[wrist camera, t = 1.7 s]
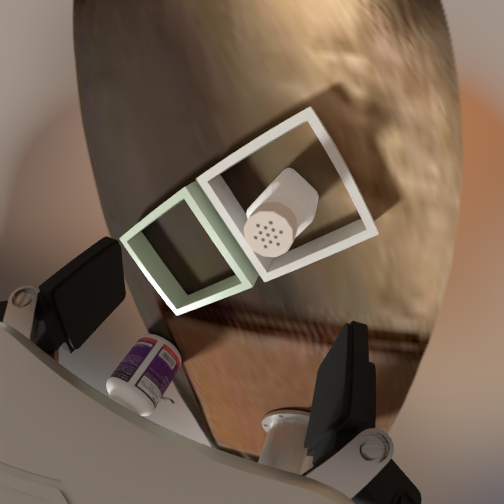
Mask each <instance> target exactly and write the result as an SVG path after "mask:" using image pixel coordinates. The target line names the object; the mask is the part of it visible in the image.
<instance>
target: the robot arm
mask: <svg viewBox="0 0 504 504" xmlns="http://www.w3.org/2000/svg"><path fill="white" fill-rule="evenodd" d="M39 289H40V292H39V293H37V290H36V289H35V288H34V287H31V286H23V287H20V288H18V289H17V290H15V291H14V292H13V293H12V294H11V296H10V298H9V301H2V302H0V504H421V494H420V492H419V490H418V489H417V488H416V486H415V485H414V484H413V483H412V482H411V481H410V480H409V478H408V477H407V476H406V475H405V474H404V473H403V471H402V470H401V469H400V468H399V467H398V466H397V464H396V463H395V462H394V461H393V460H392V459H391V457H392V455H393V452H394V446H393V442H392V439H391V438H390V437H389V435H388V434H387V433H386V432H384V431H383V430H380V429H378V428H375V419H376V369H375V364H374V363H372V362H369V351H368V327H367V325H366V324H362V323H359V322H356V321H352V322H351V323H350V324H348V323H346V324H345V325H344V327H343V329H342V330H341V332H340V334H339V336H338V337H337V339H336V341H335V342H334V344H333V346H332V347H331V349H330V351H329V352H328V354H327V355H326V357H325V359H324V360H323V362H322V363H321V365H320V367H319V369H318V373H317V379H316V385H315V391H314V396H313V402H312V407H311V413H309V412H306V411H300V410H277V411H273V412H270V413H268V414H267V415H265V416H264V418H263V421H262V426H263V428H264V430H265V431H266V432H267V436H266V440H265V443H264V446H263V449H262V452H261V455H260V458H259V461H258V463H256V462H253V461H250V460H247V459H244V458H241V457H237V456H235V455H232V454H229V453H226V452H223V451H220V450H217V449H215V448H212V447H209V446H206V445H204V444H201V443H199V442H196V441H194V440H191V439H189V438H186V437H184V436H182V435H180V434H177V433H175V432H173V431H171V430H169V429H167V428H165V427H162V426H160V425H158V424H156V423H154V422H152V421H150V420H148V419H146V418H144V417H142V416H141V415H139V414H137V413H135V412H133V411H131V410H130V409H128V408H126V407H124V406H122V405H121V404H119V403H117V402H116V401H114V400H112V399H111V398H109V397H107V396H106V395H104V394H102V393H101V392H99V391H98V390H96V389H95V388H93V387H92V386H90V385H89V384H87V383H86V382H84V381H83V380H81V379H80V378H78V377H77V376H75V375H74V374H72V373H71V372H70V371H68V370H67V369H66V368H64V367H63V366H62V365H60V364H59V363H58V360H59V359H58V358H59V347H60V346H61V345H62V347H63V348H64V349H65V350H67V351H69V353H72V352H73V351H74V350H75V349H78V348H80V347H81V345H82V344H83V343H84V342H85V341H86V340H87V339H88V338H89V337H90V335H91V334H92V333H93V332H94V331H95V330H96V329H97V328H98V327H99V326H100V325H101V324H102V322H103V321H104V320H105V319H106V318H107V317H108V316H109V315H110V314H111V313H112V312H113V311H114V309H116V307H118V305H119V304H120V303H121V302H122V301H123V300H124V298H125V295H126V291H125V284H124V274H123V264H122V252H121V246H120V245H119V242H118V241H117V240H115V239H112V238H110V237H104V238H102V239H101V240H99V241H98V242H97V243H95V244H94V245H92V246H91V247H90V248H88V249H87V250H86V251H84V252H83V253H81V254H80V255H79V256H77V257H76V258H75V259H73V260H72V261H71V262H69V263H68V264H67V265H65V266H64V267H63V268H61V269H60V270H59V271H58V272H56V273H55V274H54V275H53V276H51V277H50V278H49V279H48V280H46V281H45V282H44V283H43V284H41V285H40V286H39Z"/></svg>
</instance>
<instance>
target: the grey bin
mask: <svg viewBox="0 0 504 504" xmlns="http://www.w3.org/2000/svg"><path fill="white" fill-rule="evenodd" d="M307 121H308V122H309V124H310V126H311V127H312V129H313V130H314V132H315V134H316V135H317V137H318V139H319V140H320V142H321V144H322V145H323V147H324V149H325V151H326V152H327V154H328V156H329V157H330V159H331V161H332V163H333V165H334V166H335V168H336V170H337V172H338V174H339V175H340V177H341V179H342V181H343V183H344V185H345V187H346V189H347V190H348V192H349V194H350V196H351V198H352V200H353V202H354V204H355V206H356V208H357V210H358V212H359V214H360V216H361V219H359V220H357V221H354V222H352V223H350V224H348V225H346V226H344V227H341V228H339V229H337V230H335V231H333V232H330V233H328V234H326V235H324V236H322V237H319V238H317V239H315V240H313V241H310V242H308V243H306V244H304V245H302V246H299V247H297V248H295V249H293V250H290V251H288V252H286V253H284V254H282V255H280V256H278V257H275V258H274V257H264V256H262V255H260V254H258V253H256V252H255V251H253V250H252V249H251V248H250V246H249V245H248V243H247V242H246V240H245V235H244V226H245V224H246V222H247V220H248V218H247V216H246V213H245V212H244V210H243V209H242V207H241V206H240V204H239V202H238V201H237V199H236V198H235V196H234V195H233V193H232V192H231V190H230V189H229V187H228V185H227V184H226V182H225V181H224V179H223V178H222V176H221V175H220V174H222V173H223V172H225V171H226V170H228V169H229V168H231V167H232V166H234V165H235V164H237V163H238V162H240V161H242V160H243V159H245V158H246V157H248V156H249V155H251V154H253V153H254V152H256V151H258V150H259V149H261V148H262V147H264V146H266V145H267V144H269V143H271V142H272V141H274V140H276V139H277V138H279V137H281V136H283V135H284V134H286V133H288V132H290V131H291V130H293V129H295V128H297V127H298V126H300V125H302V124H304V123H305V122H307ZM196 180H197V181H198V183H199V184H200V186H201V187H202V189H203V190H204V192H205V193H206V195H207V196H208V198H209V199H210V201H211V202H212V204H213V205H214V207H215V209H216V210H217V212H218V213H219V215H220V216H221V218H222V219H223V221H224V222H225V224H226V225H227V227H228V228H229V230H230V231H231V233H232V234H233V236H234V237H235V239H236V240H237V242H238V243H239V245H240V246H241V248H242V249H243V251H244V252H245V254H246V255H247V257H248V258H249V260H250V261H251V263H252V264H253V266H254V267H255V269H256V270H257V272H258V273H259V275H260V276H261V278H262V279H263V281H264V282H267V281H269V280H272V279H274V278H277V277H279V276H281V275H284V274H286V273H289V272H291V271H294V270H296V269H299V268H301V267H303V266H306V265H308V264H311V263H313V262H315V261H318V260H320V259H322V258H325V257H327V256H330V255H332V254H334V253H337V252H339V251H341V250H344V249H346V248H348V247H350V246H353V245H355V244H357V243H360V242H362V241H364V240H366V239H369V238H371V237H373V236H376V235H378V234H379V233H378V230H377V227H376V224H375V221H374V219H373V216H372V214H371V212H370V210H369V208H368V206H367V204H366V202H365V200H364V197H363V195H362V193H361V191H360V189H359V187H358V185H357V183H356V181H355V180H354V178H353V176H352V174H351V172H350V170H349V168H348V166H347V164H346V163H345V161H344V159H343V157H342V155H341V154H340V152H339V150H338V148H337V146H336V145H335V143H334V141H333V140H332V138H331V136H330V134H329V133H328V131H327V129H326V128H325V126H324V124H323V123H322V121H321V120H320V118H319V116H318V115H317V113H316V112H315V110H314V109H313V108H312V107H308V108H307V109H305V110H303V111H301V112H299V113H298V114H296V115H294V116H292V117H291V118H289V119H287V120H285V121H284V122H282V123H280V124H279V125H277V126H275V127H274V128H272V129H270V130H269V131H267V132H265V133H264V134H262V135H261V136H259V137H257V138H256V139H254V140H253V141H251V142H249V143H248V144H246V145H245V146H243V147H242V148H240V149H239V150H237V151H236V152H234V153H232V154H231V155H229V156H228V157H226V158H225V159H224V160H222V161H221V162H219V163H218V164H216V165H215V166H213V167H212V168H210V169H209V170H208V171H206V172H205V173H203V174H202V175H200V176H199V177H198V178H196Z"/></svg>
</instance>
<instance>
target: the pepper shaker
mask: <svg viewBox="0 0 504 504" xmlns="http://www.w3.org/2000/svg"><path fill="white" fill-rule="evenodd" d="M318 198H319V195H318V193H317V191H316V190H315V189H314V188H313V187H312V186H311V185H310V184H309V183H308V182H307V181H306V180H305V179H304V178H303V177H301V176H300V175H299V174H298V173H297V172H296V171H295V170H294V169H292V168H287V169H284V170H283V171H282V172H281V173H280V175H279V176H278V177H277V178H276V179H275V180H274V181H273V182H272V183H271V184H270V185H269V186H268V187H267V188H266V189H265V190H264V192H263V193H262V194H261V195H260V196H259V197H258V198H257V199H256V200H255V201H254V202H253V203H252V204H251V206H250V207H249V208H248V209H247V212H246V216H247V218H248V220H247V222H246V224H245V226H244V235H245V240H246V242H247V243H248V245H249V246H250V248H251V249H252V250H253V251H255V252H256V253H258V254H260V255H262V256H264V257H278V256H280V255H282V254H284V253H286V252H287V251H288V250H289V248H290V247H291V245H292V243H293V242H294V239H295V238H296V237H297V236H298V235H299V234H300V233H301V232H302V231H303V230H304V229H305V228H306V227H307V226H308V225H309V224H310V223H311V222H312V221H313V219H314V216H315V212H316V208H317V203H318Z"/></svg>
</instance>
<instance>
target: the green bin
mask: <svg viewBox="0 0 504 504" xmlns="http://www.w3.org/2000/svg"><path fill="white" fill-rule="evenodd" d="M184 199H185V201H186V202H187V204H188V205H189V207H190V208H191V210H192V211H193V213H194V214H195V215H196V217H197V218H198V220H199V221H200V223H201V224H202V226H203V227H204V229H205V230H206V232H207V233H208V235H209V236H210V238H211V239H212V241H213V242H214V244H215V245H216V246H217V248H218V249H219V251H220V252H221V254H222V255H223V257H224V258H225V260H226V261H227V262H228V264H229V265H230V267H231V268H232V270H233V271H234V273H235V274H236V275H234V276H231V277H229V278H227V279H224V280H222V281H220V282H218V283H215V284H213V285H211V286H208V287H206V288H204V289H201V290H199V291H197V292H194V293H192V294H190V295H187V294H186V292H185V291H184V290H183V288H182V287H181V286H180V285H179V283H178V282H177V280H176V279H175V278H174V276H173V275H172V274H171V272H170V271H169V270H168V268H167V267H166V266H165V264H164V263H163V261H162V260H161V259H160V257H159V256H158V254H157V253H156V252H155V250H154V249H153V247H152V246H151V244H150V243H149V241H148V240H147V239H146V237H145V236H144V234H143V233H142V230H143V229H145V228H146V227H147V226H148V225H150V224H151V223H152V222H154V221H155V220H156V219H158V218H159V217H160V216H162V215H163V214H164V213H166V212H167V211H168V210H170V209H171V208H173V207H174V206H175V205H177V204H178V203H179V202H181V201H182V200H184ZM120 240H121V242H122V243H123V245H124V246H125V248H126V249H127V251H128V252H129V253H130V255H131V256H132V258H133V259H134V261H135V262H136V263H137V265H138V266H139V268H140V269H141V270H142V272H143V273H144V274H145V276H146V277H147V278H148V280H149V281H150V282H151V284H152V285H153V286H154V288H155V289H156V290H157V292H158V293H159V294H160V296H161V297H162V298H163V299H164V301H165V302H166V303H167V305H168V306H169V307H170V308H171V310H172V311H173V312H174V313H175V315H176V316H178V315H181V314H183V313H186V312H189V311H191V310H194V309H197V308H199V307H202V306H205V305H207V304H210V303H213V302H215V301H218V300H221V299H223V298H226V297H228V296H231V295H234V294H236V293H239V292H241V291H244V290H246V289H249V288H251V287H253V286H254V284H255V282H256V280H257V277H258V275H259V273H258V272H257V270H256V269H255V267H254V266H253V264H252V263H251V261H250V260H249V258H248V257H247V255H246V254H245V252H244V251H243V249H242V248H241V246H240V245H239V243H238V242H237V240H236V239H235V237H234V236H233V234H232V233H231V231H230V230H229V228H228V227H227V225H226V224H225V222H224V221H223V219H222V218H221V216H220V215H219V213H218V212H217V210H216V209H215V207H214V205H213V204H212V202H211V201H210V199H209V198H208V196H207V195H206V193H205V192H204V190H203V189H202V187H201V186H200V184H199V183H198V181H197V180H196V181H195V182H193V183H191V184H189V185H187V186H185V187H184V188H182V189H181V190H180V191H178V192H177V193H176V194H174V195H173V196H172V197H170V198H169V199H168V200H167V201H165V202H164V203H163V204H161V205H160V206H159V207H158V208H156V209H155V210H154V211H152V212H151V213H150V214H149V215H147V216H146V217H145V218H144V219H142V220H141V221H140V222H139V223H138V224H136V225H135V226H134V227H133V228H131V229H130V230H129V231H128V232H127V233H125V234H124V235H123V236H122V237H121V238H120Z"/></svg>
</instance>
